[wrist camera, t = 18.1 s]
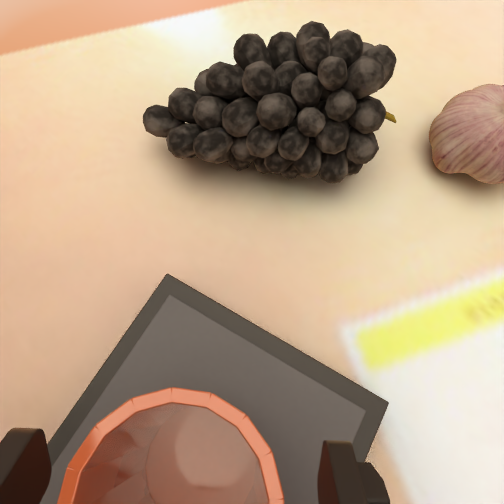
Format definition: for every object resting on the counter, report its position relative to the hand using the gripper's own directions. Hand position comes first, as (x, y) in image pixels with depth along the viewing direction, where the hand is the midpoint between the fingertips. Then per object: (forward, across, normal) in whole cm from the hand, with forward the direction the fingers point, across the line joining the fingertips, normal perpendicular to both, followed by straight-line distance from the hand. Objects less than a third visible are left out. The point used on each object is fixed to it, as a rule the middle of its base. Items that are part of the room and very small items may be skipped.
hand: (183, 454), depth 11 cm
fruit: (+20, -2, -6) cm, 21 cm away
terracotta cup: (+4, 0, +6) cm, 7 cm away
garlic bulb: (+20, -17, -6) cm, 27 cm away
